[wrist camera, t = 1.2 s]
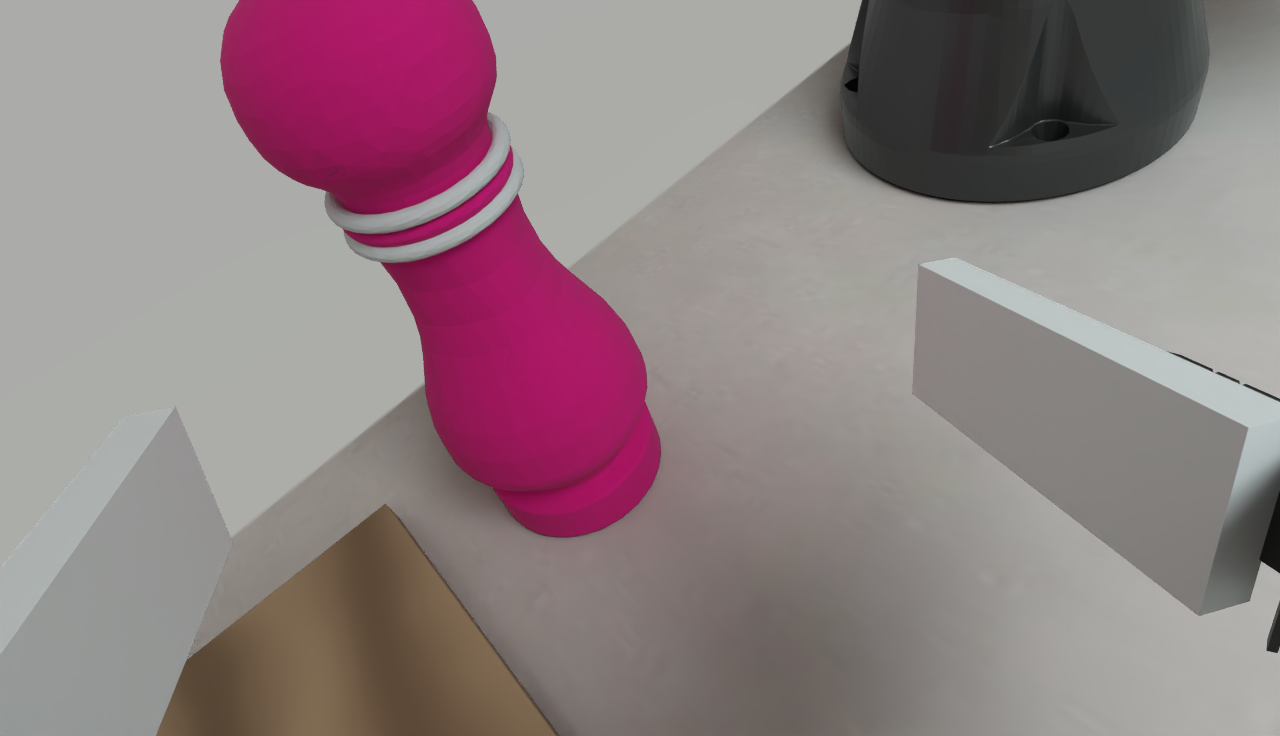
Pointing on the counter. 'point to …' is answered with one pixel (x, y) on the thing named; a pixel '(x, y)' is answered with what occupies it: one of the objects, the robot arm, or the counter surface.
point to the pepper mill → (452, 243)
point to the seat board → (355, 655)
